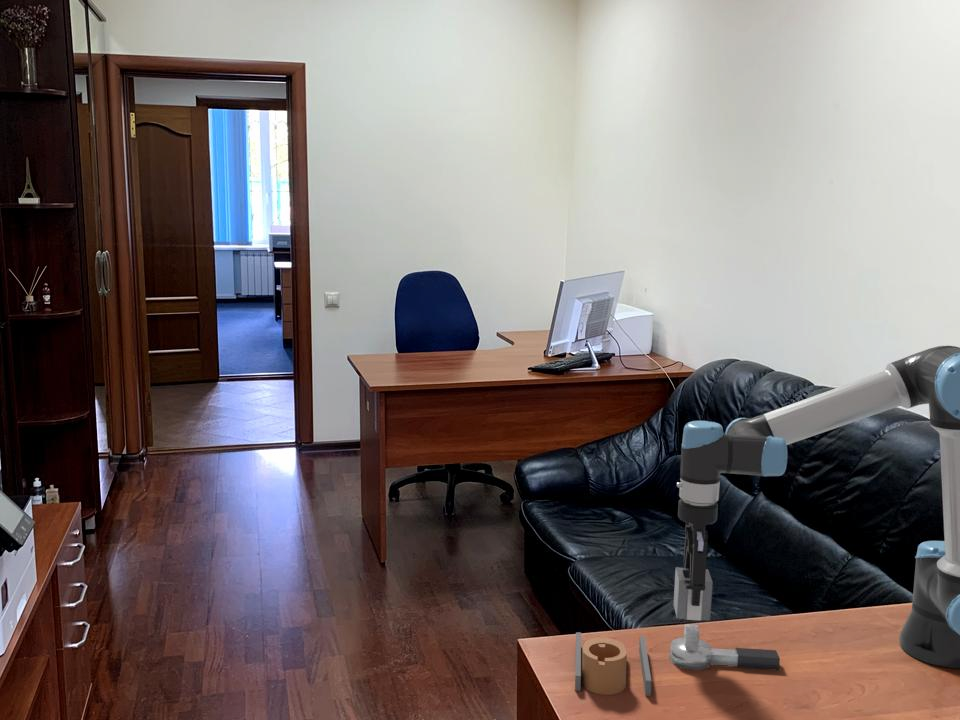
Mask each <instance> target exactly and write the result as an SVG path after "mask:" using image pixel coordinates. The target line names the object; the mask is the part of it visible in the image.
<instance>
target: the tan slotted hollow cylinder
mask: <svg viewBox="0 0 960 720" xmlns="http://www.w3.org/2000/svg"><path fill="white" fill-rule="evenodd" d="M627 653H628V652H627V649H626V646H625V644H623V643H622V642H621V641H619V640H617V639H615V638H614V639H613V638H610V637H599V636H598V637H592V638H590V639H587V640H586V641H585V642H584V643H583V646H582V649H581V685H582V687H583V688H584V689H585V690H587V691H589V692H591V693H594V694H596V695H604V696H607V695H608V696H609V695H610V696H611V695H616V694H619V693H622V692H623V691H624V690H625V689H626V684H627V681H626V678H627V656H628V654H627Z"/></svg>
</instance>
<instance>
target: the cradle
mask: <svg viewBox="0 0 960 720" xmlns="http://www.w3.org/2000/svg"><path fill="white" fill-rule="evenodd" d="M645 637H646V636H642V635H641V636H639V639H638V640H639V641H638V643H639V644H638V646H639V647H638V652H639V657H640V658H639V659H640V660H639V661H640V667H641V675H642V682H643V683H642V684H643V689H644V696H647V697H648V696H649V697H651V695H652V675H651V671H650V664H649V663H650V662H649V656H648V650H647V645H646V644H647V642H646V638H645ZM574 663H575V664H574V665H575V669H574V671H575V672H574V676H575V677H574V685H575V686H574V690H575V692H581V685H582V632H581V631H580V632H575V660H574Z"/></svg>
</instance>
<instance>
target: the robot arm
mask: <svg viewBox="0 0 960 720" xmlns="http://www.w3.org/2000/svg"><path fill="white" fill-rule="evenodd" d="M927 404H928V408H929V409H928V412H929V426H930V427H931V428H933V429H934V430H935V431H936V432H937V433H938V434H939V449H940V453H939V454H940V469H941V470H940V471H941V473H940V475H941V489H942V491H941V492H942V495H941V496H942V515H943V534H944V535H943V536H944V540H927V541H923V542H921V543H920V544H918V546H917V551H916V555H915V556H914V558H915V565H914V566H915V569H914V578H913V579H914V580H913V592H912V593H913V594H912V601H911V602H912V603H911V611H910V612H909V614H908V616H907V619H905V622H904V624H903V627H902V628H901V630H900V633H899V641H898V642H899V647H900V648H901V649H902V650H903V652H905V653H907V654H908V655H910V656H911V657H913V658H914V659H916V660H919V661H921V662H924V663H927V664H930V665H932V666H933V665H934V666H938V667H942V668H947V669H948V668H949V669H960V346H955V345H939V346H935V347H930V348H927V349H923V350H922V351H919V352H916V353H914V354H912V355H908V356H906V357H903V358H901V359H897V360H895V361H892V362H890V363H887V364H886V367H885V369H884V370H883V371H880V372H876V373H874V374H872V375H869V376H866V377H863V378H860V379H856V380H855V381H853V382H848V383H846V384H843V385H841V386H838V387H836V388H832V389H831V390H826V391H825V392H822V393H818V394H816V395H813V396H810V397H807V398H805V399H802V400H799V401H796V402H794V403H791V404H788V405H786V406H783V407H780V408H777V409H774V410H772V411H769V412H765V413H764V414H759V415H757V416H754V417H751V418H748V417H739V418H736V419H733V420H732V421H730V423H729V424H728V425H727V427H726V428H725V432H724V428H723V426H722V424H720V423H718V422H715V421H708V420H692V421H689V422H687V423H685V425H684V427H683V433H682V440H681V441H682V443H681V452H680V453H681V457H680V476H679V477H680V479H679V481H680V482H676V487H677V488H679V493H678V496H679V498H680V499H679V500H678V507H677V509H678V510H677V517H678V519H679V520H680V521H683V523H684V522H685V527H684V533H685V535H684V537H685V538H684V547H683V548H684V551H683V560H682V563H683V568H690V585H689V586H686V589H688V600H687V616H686V618H687V619H686V620H688V621H698V622H699V621H702V620H701V612H702V596H703V591H704V590H705V575H706V569H707V554H708V553H707V552H708V546H709V542H708V539H709V532H708V531H707V527H706V526H707V525H713V524H714V523H716V522H717V520H718V511H719V510H718V509H719V508H718V507H719V504H718V501H719V498H720V484H721V481H720V480H721V479H720V478H721V474H735V475H747V476H748V475H749V476H761V477H765V478H766V477H780V476H783V475H784V474H785V472H786V470H787V464H788V445H791V444H794V443H796V442H799V441H802V440H806V439H808V438H811V437H814V436H816V435H820V434H823V433H825V432H829V431H831V430H834V429H838V428H840V427H843V426H846V425H849V424H851V423H854V422H857V421H860V420H863V419H866V418H868V417H869V418H870V417H871V416H875V415H877V414H881V413H884V412H887V411H889V410H892V409H895V408H898V407H902V408H905V409H910V408H914V407H917V406H921V405H927Z"/></svg>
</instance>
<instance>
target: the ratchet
mask: <svg viewBox="0 0 960 720" xmlns="http://www.w3.org/2000/svg"><path fill="white" fill-rule="evenodd" d="M683 627H684V628H683V629H684V631H683V636H682V637H678V638H674V639H672V640H671V642H670V649H669V650H670V651H669V660H670V661H671V663H672V664H674V666H676V667H678V668H680V667H681V668H680V669H683V668H684V670H687V669H688V670H689V671H702V670H701V669H703V670H706V669H708V668H709V667H710V666H711V665H710V664H713V665H712V666H717V665H728V666H727V667H733V666H737V667H736V668H738V667H744V668H743V669H752V668H754V670H767V669H776V670H775V671H780V659H781V658H780V656H779V654H778V652H777V650H776V649H762V648H761V649H759V648H747V647H744V648H743V647H735V649H730V648H729V649H728V648H727V649H726V648H712V646H711V644H710V643H708V642H706V641H705V640H702V639H700V628H699V625H697V624H687V623H686V624H684V626H683ZM709 665H710V666H709ZM708 666H709V667H708ZM707 667H708V668H707ZM705 668H706V669H705Z"/></svg>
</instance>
